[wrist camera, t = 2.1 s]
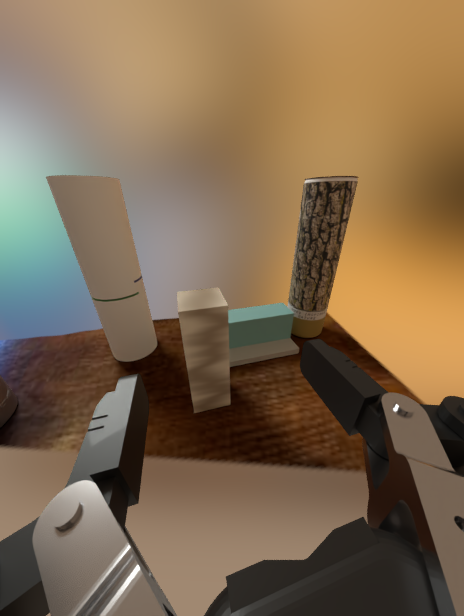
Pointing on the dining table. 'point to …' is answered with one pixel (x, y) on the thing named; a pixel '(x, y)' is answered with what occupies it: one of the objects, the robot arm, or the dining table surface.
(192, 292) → the ash post
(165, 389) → the dining table surface
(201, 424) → the dining table surface
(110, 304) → the cylindrical container
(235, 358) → the stand
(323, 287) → the bark log cylinder
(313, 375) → the robot arm
